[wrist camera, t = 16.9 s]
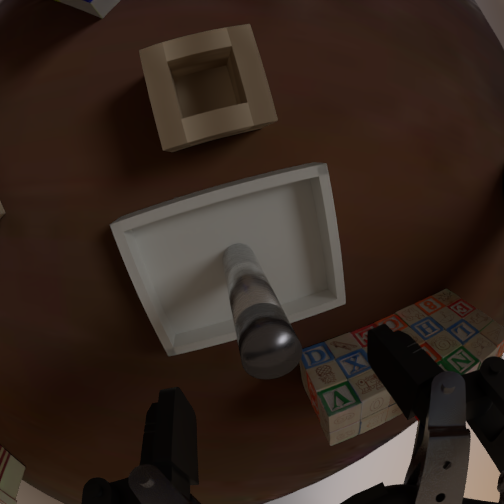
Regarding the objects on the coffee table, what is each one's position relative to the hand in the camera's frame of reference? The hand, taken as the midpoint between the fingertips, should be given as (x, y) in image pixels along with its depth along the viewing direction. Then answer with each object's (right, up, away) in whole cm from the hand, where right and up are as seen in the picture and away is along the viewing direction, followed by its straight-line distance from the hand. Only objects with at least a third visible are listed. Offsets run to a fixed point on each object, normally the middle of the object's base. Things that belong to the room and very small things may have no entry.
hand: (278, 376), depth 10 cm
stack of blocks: (+14, -5, +19) cm, 24 cm away
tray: (-2, +4, +13) cm, 14 cm away
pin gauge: (-2, +4, +12) cm, 13 cm away
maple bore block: (-5, +17, +8) cm, 19 cm away
